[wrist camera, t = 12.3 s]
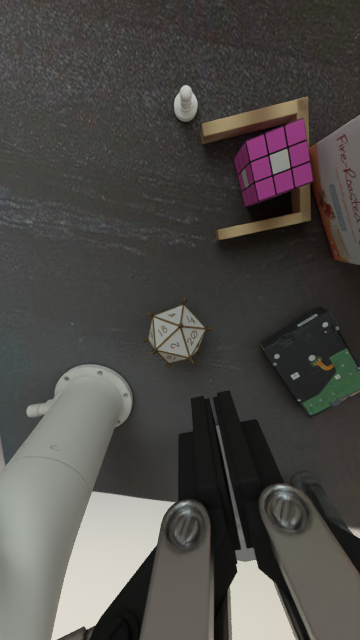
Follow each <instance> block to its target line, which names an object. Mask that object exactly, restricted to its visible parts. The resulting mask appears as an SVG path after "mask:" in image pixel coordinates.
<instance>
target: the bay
mask: <svg viewBox="0 0 360 640" xmlns="http://www.w3.org/2000/svg"><path fill="white" fill-rule="evenodd" d="M300 118H304V121H305V128H306V135H307V142H308V149H309V122H308V97H304V98H300V99H296V100H292V101H289V102H285V103H281V104H277V105H273V106H269V107H265V108H261V109H257V110H253V111H250V112H246V113H242V114H238V115H234V116H230V117H226V118H222V119H218V120H214V121H210V122H207V123H203V124H202V127H201V133H200V134H201V141H202V144H206V143H210V142H214V141H218V140H222V139H226V138H230V137H234V136H238V135H242V134H246V133H250V132H254V131H258V130H262V129H266V128H270V127H274V126H278V125H282V124H286V123H287V124H288V123H291V122H293V121H295V120H298V119H300ZM291 206H292V214H288V215H283V216H279V217H274V218H269V219H265V220H260V221H256V222H251V223H247V224H242V225H237V226H233V227H228V228H224V229H219V230H215V234H216V240H223V239H228V238H232V237H237V236H242V235H246V234H251V233H256V232H260V231H265V230H270V229H274V228H279V227H284V226H288V225H293V224H298V223H302V222H307V221H311V201H310V183H309V184H307V185H304V186H302V187H299V188H297V189H294V190H292V191H291Z"/></svg>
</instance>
